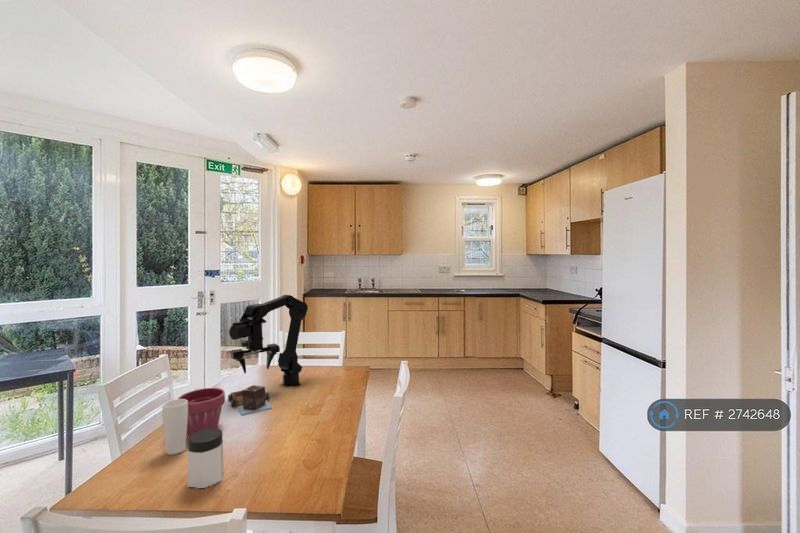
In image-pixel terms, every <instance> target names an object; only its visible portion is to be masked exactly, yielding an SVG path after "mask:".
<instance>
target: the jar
mask: <svg viewBox="0 0 800 533" xmlns="http://www.w3.org/2000/svg"><path fill="white" fill-rule="evenodd" d="M187 449H188V450H187V453H186V457H187V488H189V487H196V488H195V489H198V488H205V487H207V488H209V487H211V486H213V485H216V484H218V483H220V482H222V479H223V475H224V439H223V431H222V430H221V429H219V428H217V429H205V430H201V431H198V432H196V433H194V434H192V435H191V436H190V437H189V436H188V439H187ZM208 486H209V487H208ZM205 489H206V488H205Z"/></svg>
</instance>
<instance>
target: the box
mask: <svg viewBox="0 0 800 533" xmlns="http://www.w3.org/2000/svg"><path fill="white" fill-rule="evenodd" d="M242 390H243V408H245V409H252V410H256V409H258V408H260V407H262V406H264V405H265V393H266V386H262V385H256V384H254V385H253V384H252V385H251V386H249V387H246V388H244V389H242Z"/></svg>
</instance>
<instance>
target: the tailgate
mask: <svg viewBox="0 0 800 533" xmlns="http://www.w3.org/2000/svg"><path fill="white" fill-rule="evenodd" d="M236 409H238V411H239V413H240V415H241V416H247V415H251V414H256V413H259V412H260V413H261V412H265V411H269V410H273V407H272V406H271V404H270V403H269V401H267V400H265V405H264V406H262V407H260V408H258V409H256V410H252V409H245V408H243V405H242V406H237V407H236Z"/></svg>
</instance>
